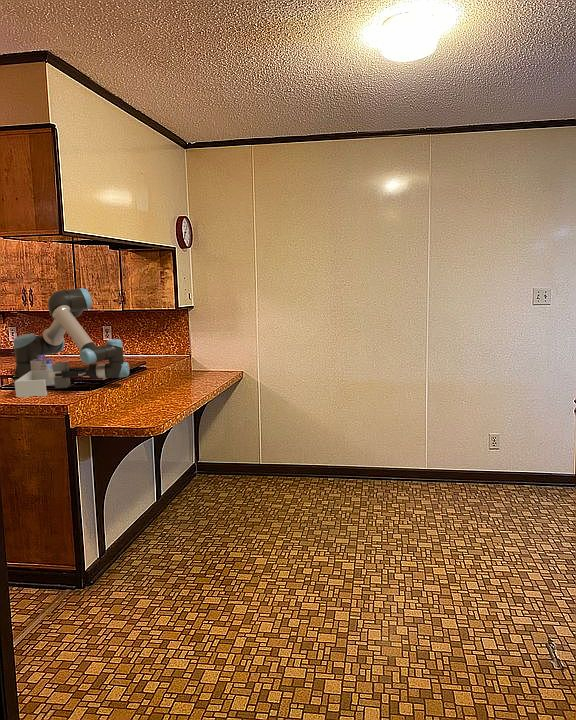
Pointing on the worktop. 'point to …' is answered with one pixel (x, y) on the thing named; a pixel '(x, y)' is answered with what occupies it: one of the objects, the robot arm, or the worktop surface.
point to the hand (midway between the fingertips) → (51, 373)
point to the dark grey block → (61, 381)
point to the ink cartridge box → (41, 364)
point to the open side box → (33, 383)
